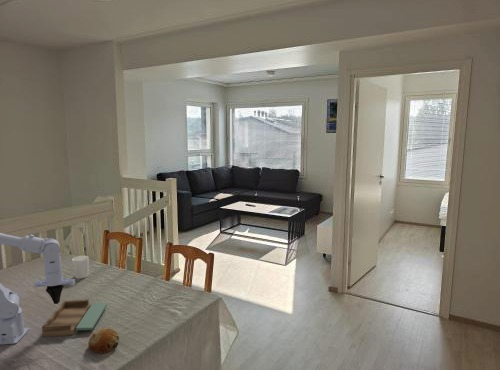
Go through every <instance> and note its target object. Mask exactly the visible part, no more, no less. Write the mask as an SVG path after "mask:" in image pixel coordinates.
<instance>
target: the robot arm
mask: <svg viewBox="0 0 500 370" xmlns="http://www.w3.org/2000/svg"><path fill="white" fill-rule="evenodd" d="M0 245H4V246H12V247H18V249H19V250H20V251H21V252H22V251H23V252H28V253H33V254H39V255H40V254H42V255H43V258H44V260H43V266H44V273H45V274H44V277H45V279H42V280H40V279H39V280H35V282H33V286H34V288H39V287H46V288H45V292H46V293H47V294H48V295H49V296H50V298H51V300H52V302H53V304H54V305H58V304H59V303H60V302H61V297H62V296H61V295H62V291H63V289H64V286H71V287H72V286H74V285H75V284H76V278H65V277H63V267H62V258H61V253H60V252H61V246H60V242H59V240H58V239H56V238H53V237H51V238H49V237H45V238H42V237H37V236H35V235H34V234H29V235H27V234H26V235H24V236H21V237H20V236H16V235H15V236H14V235H11V234H6V233H2V232H0ZM20 303H21V295H19V294H18V293H17V292H14V291H12V290H11V289H10V288H7V287H5V286H4V285H3V284H2V283H1V282H0V345H9V344H10V345H12V344H17V343H19V342H20V341H21V339H22V338H23V337H24V336H25V335H26V333H27V332H29V330H30V329H31V328H30V327H25V324H24V315H23V309H22V308H21V307H20Z"/></svg>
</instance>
